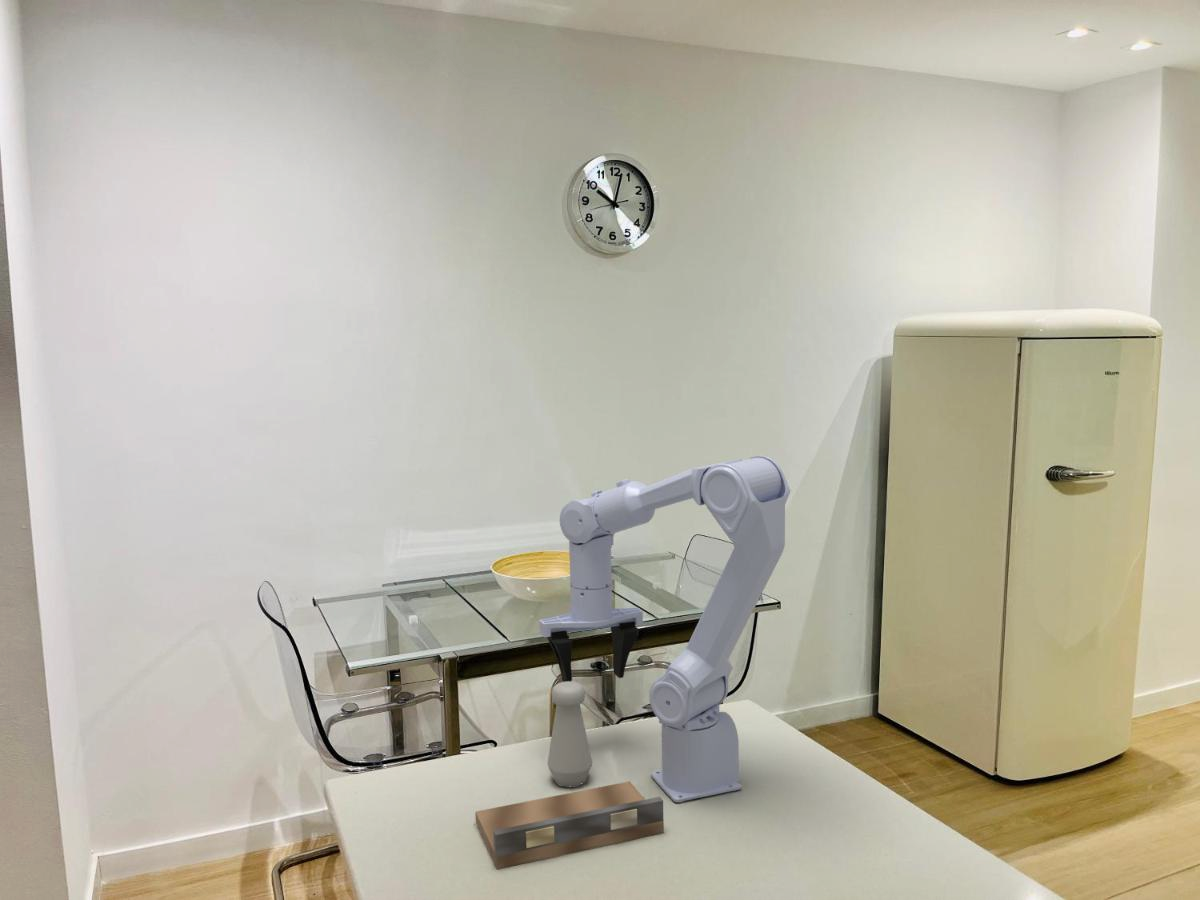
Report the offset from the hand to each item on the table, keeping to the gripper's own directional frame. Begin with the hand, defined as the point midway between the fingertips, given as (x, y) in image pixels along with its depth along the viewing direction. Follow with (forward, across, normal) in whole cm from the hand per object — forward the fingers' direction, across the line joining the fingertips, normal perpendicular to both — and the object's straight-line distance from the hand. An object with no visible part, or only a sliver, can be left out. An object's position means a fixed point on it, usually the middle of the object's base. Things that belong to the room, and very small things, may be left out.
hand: (593, 679), depth 130 cm
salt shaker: (+11, +6, +7) cm, 14 cm away
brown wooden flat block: (+10, +10, +18) cm, 23 cm away
